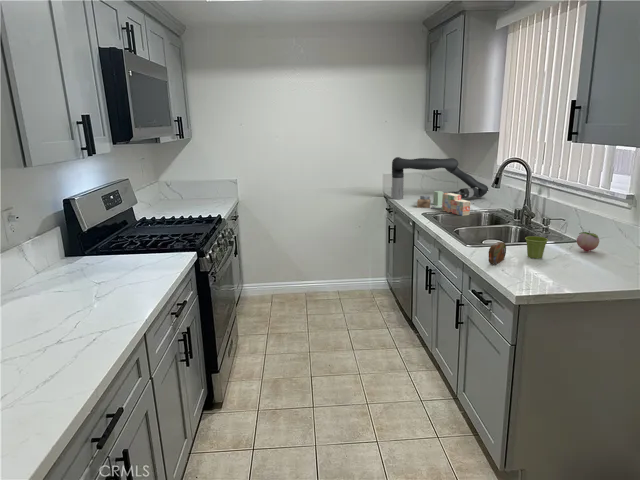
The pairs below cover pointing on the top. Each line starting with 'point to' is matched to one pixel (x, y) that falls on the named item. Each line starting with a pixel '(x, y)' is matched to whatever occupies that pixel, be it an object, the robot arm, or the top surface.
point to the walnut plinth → (423, 203)
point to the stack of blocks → (455, 204)
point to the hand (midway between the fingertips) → (449, 195)
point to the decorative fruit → (587, 241)
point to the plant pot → (535, 246)
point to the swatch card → (436, 207)
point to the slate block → (425, 197)
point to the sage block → (437, 198)
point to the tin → (497, 253)
